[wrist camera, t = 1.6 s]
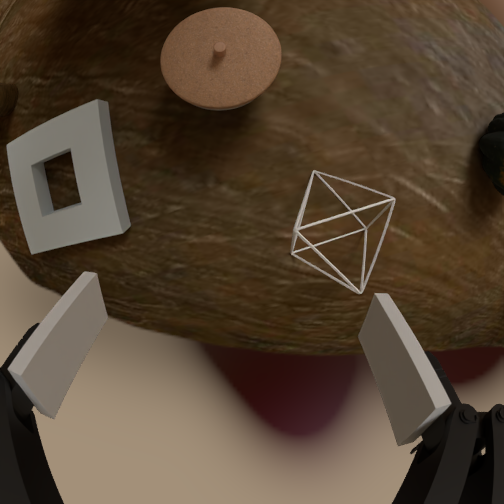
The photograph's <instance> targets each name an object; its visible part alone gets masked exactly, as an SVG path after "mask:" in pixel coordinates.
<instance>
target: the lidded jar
mask: <svg viewBox="0 0 504 504" xmlns="http://www.w3.org/2000/svg"><path fill="white" fill-rule="evenodd" d="M281 58H282V53H281V46H280V42H279V40H278V38H277V36H276V34H275V32H274V31H273V29H272V28H271V27H270V26H269V25H268V24H267V23H266V22H265V21H264V20H262V19H261V18H260V17H258V16H256V15H254V14H252V13H250V12H247V11H245V10H241V9H236V8H227V7H221V8H212V9H207V10H203V11H200V12H197V13H195V14H193V15H191V16H189V17H187V18H186V19H184V20H183V21H181V22H180V23H179V24H178V25H177V26H176V27H175V28H174V29H173V30H172V31H171V33H170V34H169V35H168V37H167V39H166V40H165V42H164V45H163V48H162V52H161V57H160V65H161V70H162V74H163V77H164V79H165V81H166V83H167V84H168V86H169V87H170V88H171V89H172V91H173V92H174V93H175V94H176V95H178V96H179V97H180V98H182V99H183V100H185V101H187V102H189V103H190V104H193V105H195V106H197V107H200V108H203V109H208V110H218V111H220V110H230V109H235V108H238V107H241V106H244V105H246V104H248V103H250V102H252V101H253V100H254V99H256V98H257V97H259V96H260V95H261V94H262V93H263V92H265V91H266V90H267V89H268V88H269V86H270V85H271V84H272V82H273V81H274V80H275V78H276V76H277V74H278V72H279V69H280V65H281Z"/></svg>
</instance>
